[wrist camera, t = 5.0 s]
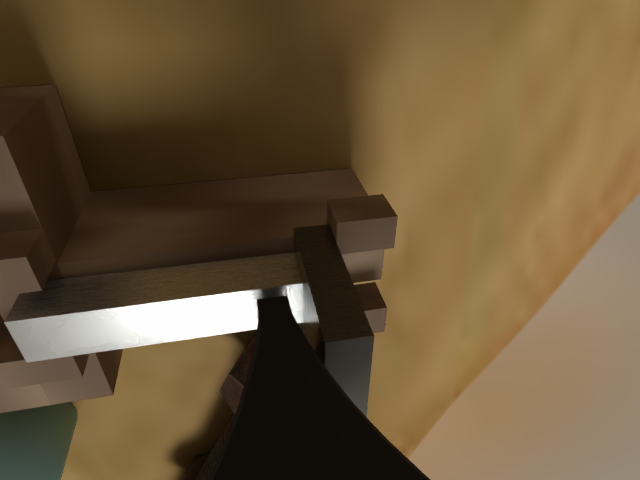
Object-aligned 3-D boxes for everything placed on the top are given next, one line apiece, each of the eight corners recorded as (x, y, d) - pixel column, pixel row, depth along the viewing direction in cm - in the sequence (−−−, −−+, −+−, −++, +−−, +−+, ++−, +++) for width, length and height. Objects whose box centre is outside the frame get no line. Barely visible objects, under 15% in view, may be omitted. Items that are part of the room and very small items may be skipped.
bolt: (182, 473, 28) (273, 308, 21) (250, 516, 28) (365, 364, 21) (120, 567, 23) (214, 392, 16) (202, 621, 23) (334, 467, 16)
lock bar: (53, 343, 13) (-4, 492, 9) (11, 259, 11) (-77, 404, 8) (327, 304, 14) (365, 423, 11) (329, 224, 12) (374, 335, 9)
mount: (-124, 345, 17) (-237, 486, 12) (-324, 104, 11) (-633, 204, 7) (346, 283, 19) (384, 380, 15) (356, 69, 14) (416, 125, 10)
